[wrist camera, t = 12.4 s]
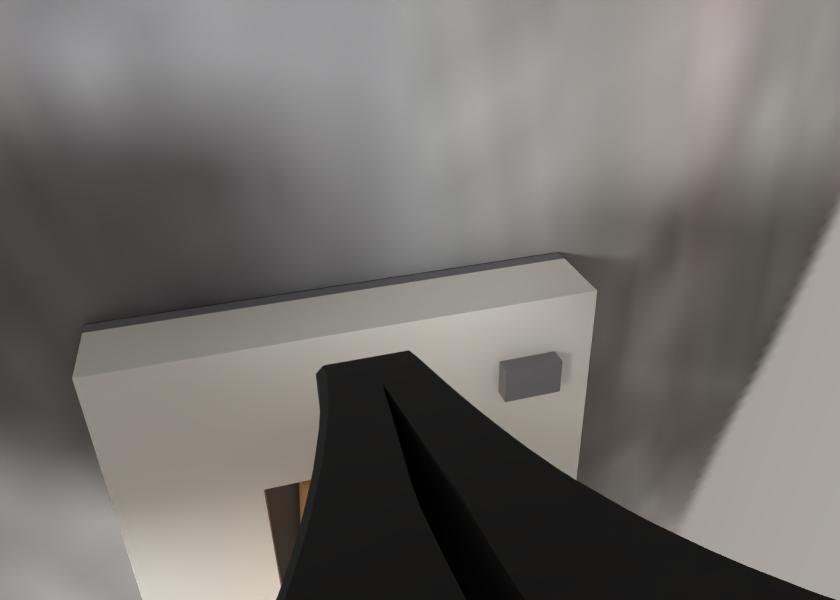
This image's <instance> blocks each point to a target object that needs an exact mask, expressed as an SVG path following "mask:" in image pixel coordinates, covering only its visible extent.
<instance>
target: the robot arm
mask: <svg viewBox="0 0 840 600" xmlns="http://www.w3.org/2000/svg"><path fill="white" fill-rule="evenodd" d="M316 381H317V390H318V399H319V407H320V418H319V431H318V438H317V446H316V453H315V460H314V467H313V472H312V477H311V481H310V486H309V490H308V494H307V499H306V503H305V507H304V512H303V516H302V520H301V524H300V528H299V531H298V535H297V538H296V542H295V545H294V548H293V552H292V555H291V558H290V561H289V564H288V567H287V570H286V573H285V576H284V579H283V582H282V585H281V588H280V591H279V593H278V596H277V599H276V600H835V599H832V598H829V597H826V596H823V595H820V594H817V593H815V592H812V591H809V590H806V589H804V588H801V587H799V586H796V585H794V584H791V583H788V582H786V581H783V580H781V579H778V578H776V577H773V576H771V575H768V574H766V573H763V572H760V571H758V570H755V569H753V568H750V567H747V566H745V565H743V564H741V563H738V562H736V561H733V560H731V559H729V558H727V557H724V556H722V555H720V554H717V553H715V552H713V551H710V550H708V549H706V548H704V547H702V546H700V545H698V544H696V543H693V542H691V541H689V540H687V539H685V538H683V537H681V536H679V535H677V534H675V533H673V532H670V531H668V530H666V529H664V528H662V527H660V526H658V525H656V524H654V523H652V522H650V521H648V520H646V519H644V518H642V517H640V516H638V515H636V514H635V513H633V512H631V511H629V510H627V509H625V508H623V507H622V506H620V505H618V504H616V503H615V502H613V501H611V500H609V499H608V498H606V497H604V496H603V495H601V494H599V493H597V492H596V491H594V490H592V489H590V488H589V487H587V486H585V485H583V484H582V483H580V482H578V481H577V480H575V479H574V478H572V477H570V476H569V475H567V474H566V473H564V472H562V471H561V470H559V469H558V468H556V467H555V466H553V465H552V464H551V463H549V462H548V461H546V460H545V459H543V458H542V457H540V456H539V455H537V454H536V453H535V452H533V451H532V450H530V449H529V448H528V447H526V446H525V445H523V444H522V443H521V442H519V441H518V440H517V439H515V438H514V437H513V436H511V435H510V434H509V433H507V432H506V431H505V430H504V429H502V428H501V427H500V426H498V425H497V424H496V423H495V422H493V421H492V420H491V419H490V418H488V417H487V416H486V415H484V414H483V413H482V412H481V411H479V410H478V409H477V408H476V407H475V406H473V405H472V404H471V403H470V402H468V401H467V400H466V399H465V398H464V397H463V396H461V395H460V394H459V393H458V392H457V391H456V390H454V389H453V388H452V387H451V386H450V385H449V384H447V383H446V382H445V381H444V380H443V379H442V378H441V377H439V376H438V375H437V374H436V373H435V372H434V371H433V370H432V369H430V368H429V367H428V366H427V365H426V364H425V363H424V362H423V361H422V360H420V359H419V358H418V357H417V356H416V355H414V354H413V353H412V352H411V351H409V350H408V351H402V352H397V353H391V354H385V355H380V356H374V357H368V358H362V359H357V360H351V361H345V362H340V363H334V364H328V365H323V366H322V367H321V368H320V370H319V371H318V372H317V373H316Z"/></svg>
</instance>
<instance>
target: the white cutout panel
mask: <svg viewBox="0 0 840 600" xmlns="http://www.w3.org/2000/svg"><path fill="white" fill-rule="evenodd" d="M596 298H597V290H596V289H595V288H594V287H593V286H592V285H591V284H590V283H589V282H588V281H587V280H586V279H585V278H584V277H583V276H582V275H581V274H580V273H579V272H578V271H577V270H576V269H575V268H574V267H573V266H572V265H571V264H570V263H569V262H568V261H567V260H566V259H565V258H564V257H563V256H561V255H560V254H559V253H552V254H545V255H539V256H532V257H525V258H519V259H512V260H506V261H499V262H493V263H486V264H480V265H473V266H467V267H460V268H453V269H447V270H440V271H434V272H427V273H421V274H414V275H408V276H401V277H394V278H388V279H381V280H375V281H368V282H362V283H355V284H349V285H342V286H336V287H329V288H322V289H316V290H309V291H303V292H296V293H290V294H283V295H277V296H270V297H263V298H257V299H250V300H244V301H237V302H231V303H224V304H218V305H211V306H205V307H198V308H191V309H185V310H178V311H172V312H165V313H159V314H152V315H146V316H139V317H132V318H126V319H119V320H113V321H106V322H100V323H93V324H87V325H84V327H83V331H82V336H81V341H80V345H79V350H78V354H77V359H76V363H75V368H74V372H73V377H72V380H73V383H74V386H75V389H76V392H77V395H78V399H79V402H80V405H81V408H82V411H83V414H84V417H85V421H86V424H87V427H88V430H89V433H90V436H91V439H92V443H93V446H94V449H95V452H96V455H97V458H98V461H99V465H100V468H101V471H102V474H103V477H104V480H105V483H106V487H107V490H108V493H109V496H110V499H111V502H112V505H113V509H114V512H115V515H116V518H117V521H118V524H119V527H120V531H121V534H122V537H123V540H124V543H125V546H126V549H127V553H128V556H129V559H130V562H131V565H132V568H133V571H134V575H135V578H136V581H137V584H138V587H139V590H140V594H141V597H142V600H276V599H277V596H278V593H279V591H280V588H281V585H282V582H283V579H284V576H285V573H286V570H287V567H288V564H289V561H290V558H291V555H292V552H293V548H294V545H295V542H296V538H297V535H298V531H299V528H300V503H299V482H303V481H308V480H311V477H312V472H313V467H314V460H315V453H316V446H317V438H318V431H319V418H320V407H319V399H318V390H317V381H316V373H317V372H318V371H319V370H320V368H321V367H322V366H323V365H328V364H334V363H340V362H345V361H351V360H357V359H362V358H368V357H374V356H380V355H385V354H391V353H397V352H402V351H408V350H409V351H411V352H412V353H413V354H414V355H416V356H417V357H418V358H419V359H420V360H422V361H423V362H424V363H425V364H426V365H427V366H428V367H429V368H430V369H432V370H433V371H434V372H435V373H436V374H437V375H438V376H439V377H441V378H442V379H443V380H444V381H445V382H446V383H447V384H449V385H450V386H451V387H452V388H453V389H454V390H456V391H457V392H458V393H459V394H460V395H461V396H463V397H464V398H465V399H466V400H467V401H468V402H470V403H471V404H472V405H473V406H475V407H476V408H477V409H478V410H479V411H481V412H482V413H483V414H484V415H486V416H487V417H488V418H490V419H491V420H492V421H493V422H495V423H496V424H497V425H498V426H500V427H501V428H502V429H504V430H505V431H506V432H507V433H509V434H510V435H511V436H513V437H514V438H515V439H517V440H518V441H519V442H521V443H522V444H523V445H525V446H526V447H528V448H529V449H530V450H532V451H533V452H535V453H536V454H537V455H539V456H540V457H542V458H543V459H545V460H546V461H548V462H549V463H551V464H552V465H553V466H555V467H556V468H558V469H559V470H561V471H562V472H564V473H566V474H567V475H569V476H570V477H572V478H574V479H575V480H576V479H577V470H578V461H579V452H580V443H581V434H582V425H583V416H584V407H585V398H586V389H587V379H588V370H589V361H590V352H591V343H592V334H593V325H594V316H595V307H596Z"/></svg>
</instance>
